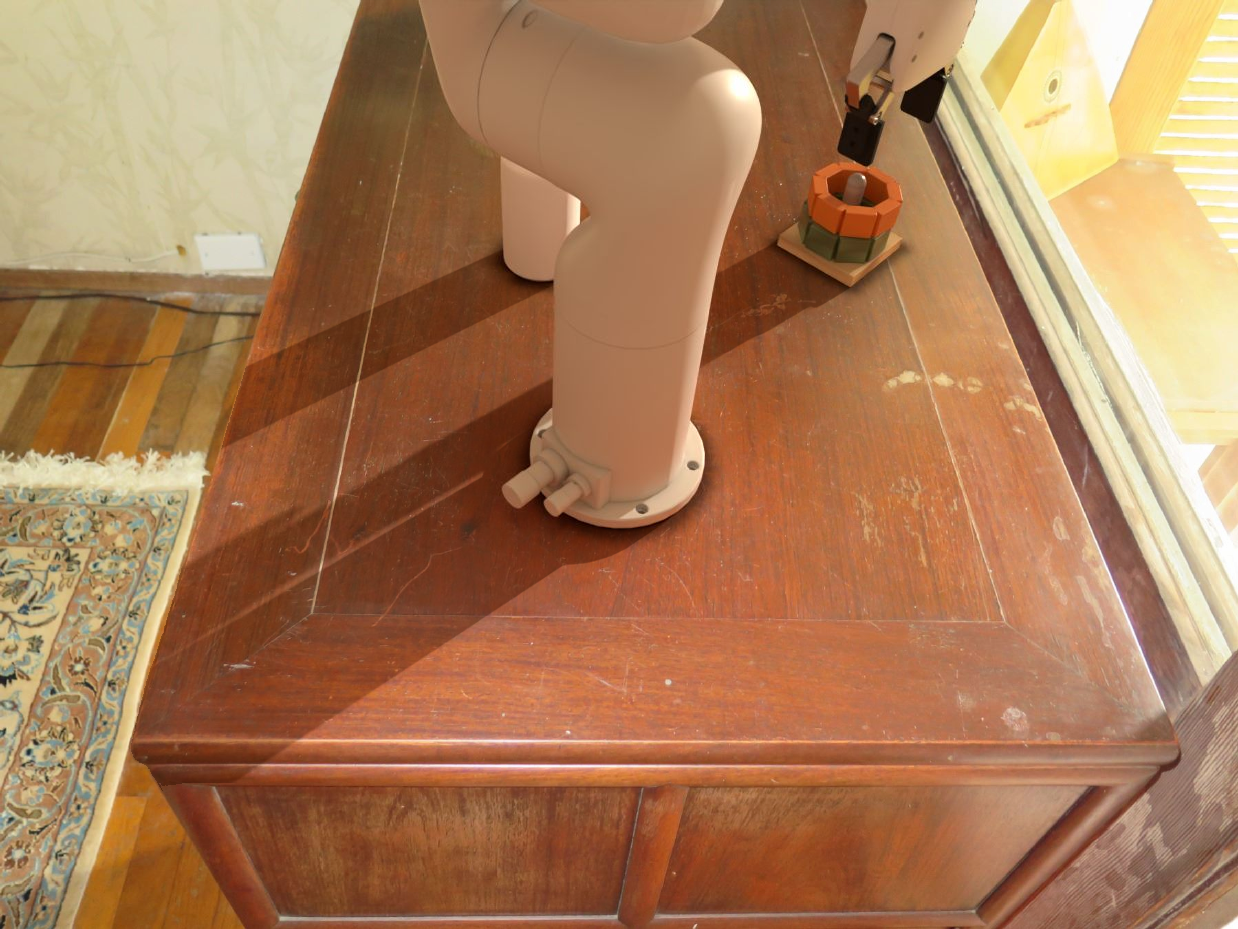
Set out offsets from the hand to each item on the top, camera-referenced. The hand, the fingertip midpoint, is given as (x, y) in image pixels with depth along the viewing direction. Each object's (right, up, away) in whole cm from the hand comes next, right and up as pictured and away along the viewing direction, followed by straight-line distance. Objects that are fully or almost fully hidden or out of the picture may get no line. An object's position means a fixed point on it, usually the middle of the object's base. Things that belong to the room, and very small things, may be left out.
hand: (886, 136), depth 84 cm
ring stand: (-3, -8, +6) cm, 10 cm away
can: (-29, -10, +2) cm, 31 cm away
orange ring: (-2, -5, +4) cm, 7 cm away
